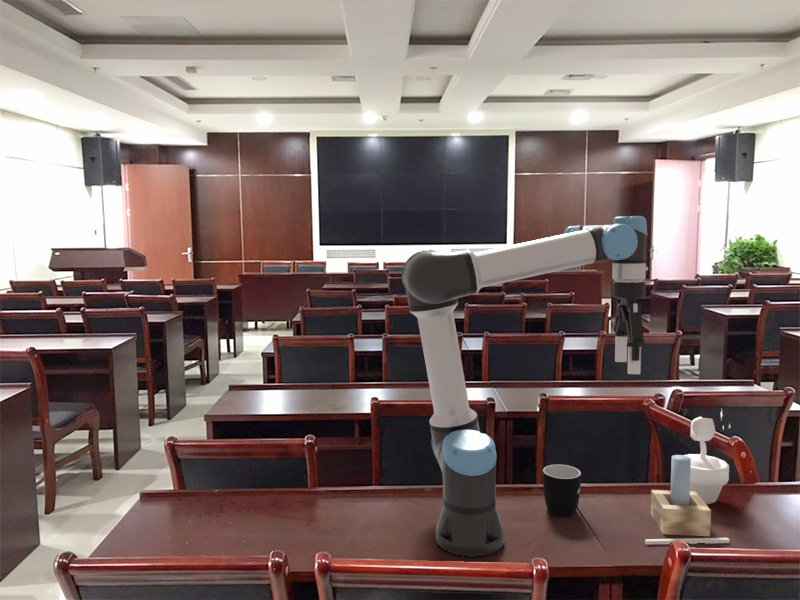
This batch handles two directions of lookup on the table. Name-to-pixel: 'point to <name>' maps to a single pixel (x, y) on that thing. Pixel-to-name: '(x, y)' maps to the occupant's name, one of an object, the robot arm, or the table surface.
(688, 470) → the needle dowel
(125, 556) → the table surface
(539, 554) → the table surface
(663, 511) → the wooden box
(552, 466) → the mug
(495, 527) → the robot arm
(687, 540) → the white thin rod
